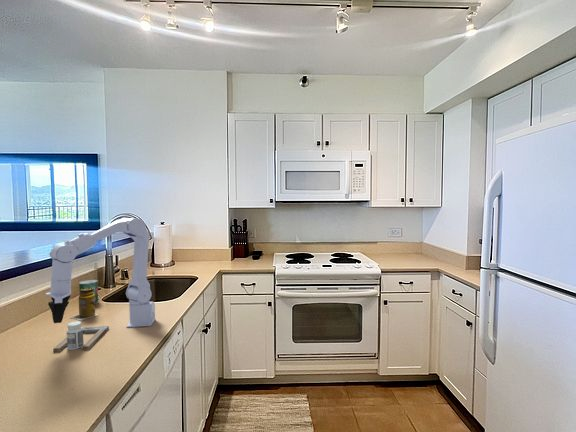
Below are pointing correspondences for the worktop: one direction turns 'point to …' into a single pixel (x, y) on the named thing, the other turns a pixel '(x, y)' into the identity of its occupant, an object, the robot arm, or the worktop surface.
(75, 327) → the pill bottle
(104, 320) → the worktop surface
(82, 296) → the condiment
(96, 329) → the panel
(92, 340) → the guide channel
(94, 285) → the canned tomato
